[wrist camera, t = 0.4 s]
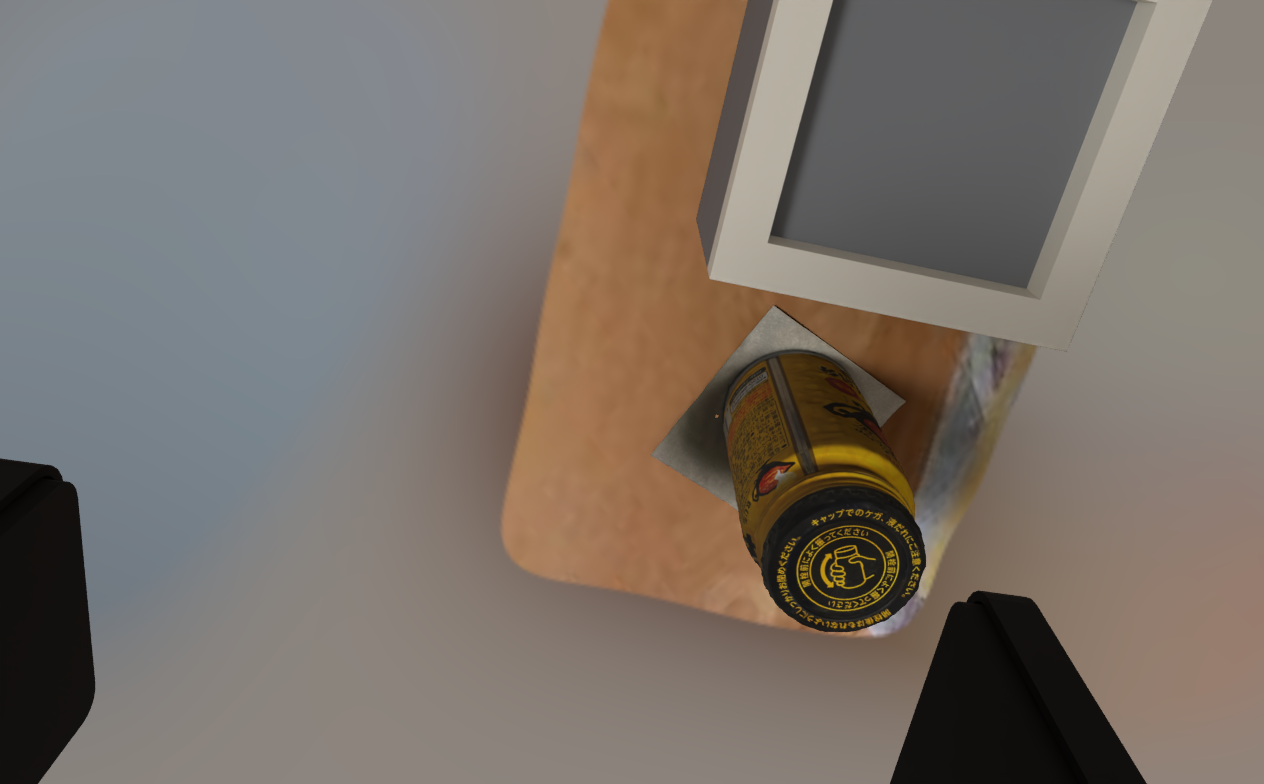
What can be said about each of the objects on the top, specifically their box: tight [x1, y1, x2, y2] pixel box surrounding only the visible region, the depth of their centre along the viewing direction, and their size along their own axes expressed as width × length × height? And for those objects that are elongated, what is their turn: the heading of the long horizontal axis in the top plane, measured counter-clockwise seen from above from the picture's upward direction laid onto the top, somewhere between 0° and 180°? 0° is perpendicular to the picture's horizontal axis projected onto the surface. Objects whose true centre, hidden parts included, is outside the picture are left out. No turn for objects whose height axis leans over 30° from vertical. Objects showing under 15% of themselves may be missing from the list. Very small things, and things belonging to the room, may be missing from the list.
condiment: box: [651, 306, 926, 632], centre depth 36 cm, size 7×8×12 cm
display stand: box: [696, 0, 1213, 352], centre depth 33 cm, size 12×12×8 cm
